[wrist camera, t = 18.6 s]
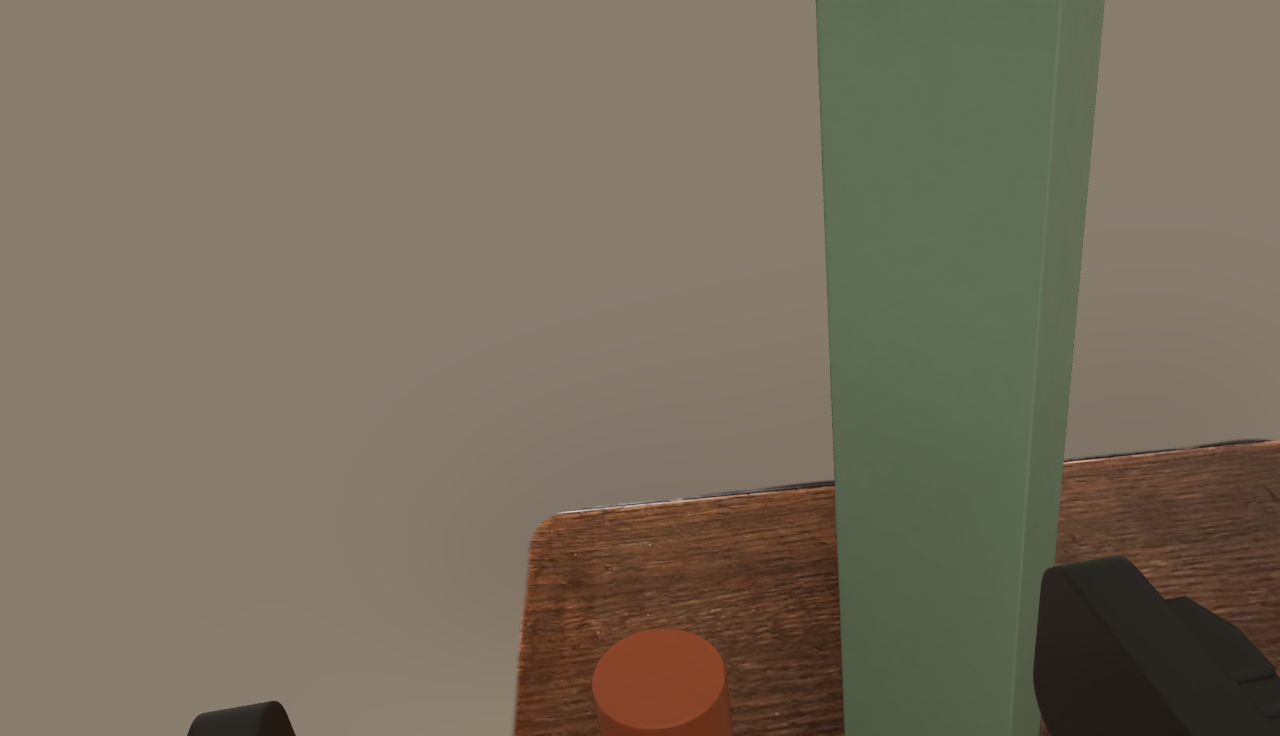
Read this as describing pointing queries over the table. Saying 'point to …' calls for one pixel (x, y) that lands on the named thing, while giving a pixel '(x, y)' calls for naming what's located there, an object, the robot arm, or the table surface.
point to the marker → (662, 687)
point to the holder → (950, 341)
